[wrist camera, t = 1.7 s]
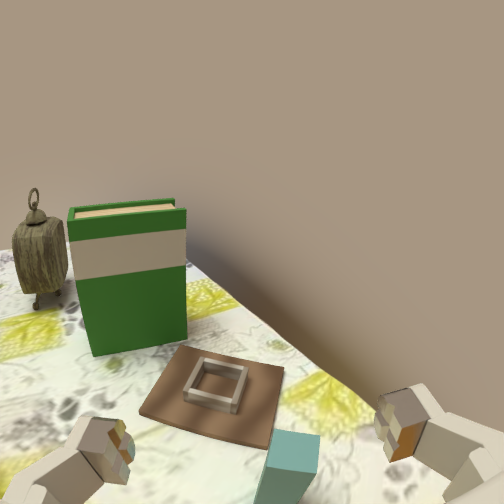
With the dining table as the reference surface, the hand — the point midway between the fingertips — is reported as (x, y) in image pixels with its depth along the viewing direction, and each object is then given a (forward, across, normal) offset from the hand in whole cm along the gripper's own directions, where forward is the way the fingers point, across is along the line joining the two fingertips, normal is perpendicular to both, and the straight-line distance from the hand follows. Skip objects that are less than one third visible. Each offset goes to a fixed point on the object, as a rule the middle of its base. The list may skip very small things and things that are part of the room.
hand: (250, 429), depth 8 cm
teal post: (+11, 0, +28) cm, 30 cm away
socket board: (+29, +7, +24) cm, 38 cm away
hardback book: (+41, +22, +20) cm, 50 cm away
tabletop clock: (+50, +46, +14) cm, 69 cm away
